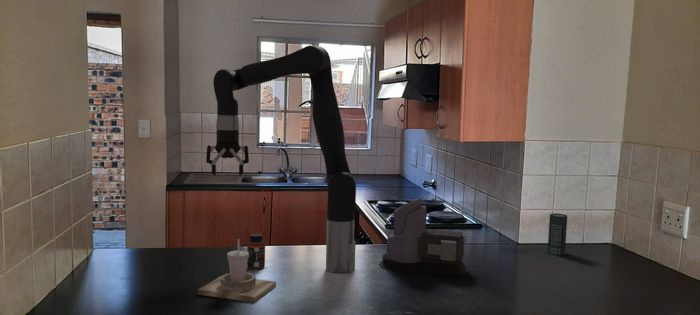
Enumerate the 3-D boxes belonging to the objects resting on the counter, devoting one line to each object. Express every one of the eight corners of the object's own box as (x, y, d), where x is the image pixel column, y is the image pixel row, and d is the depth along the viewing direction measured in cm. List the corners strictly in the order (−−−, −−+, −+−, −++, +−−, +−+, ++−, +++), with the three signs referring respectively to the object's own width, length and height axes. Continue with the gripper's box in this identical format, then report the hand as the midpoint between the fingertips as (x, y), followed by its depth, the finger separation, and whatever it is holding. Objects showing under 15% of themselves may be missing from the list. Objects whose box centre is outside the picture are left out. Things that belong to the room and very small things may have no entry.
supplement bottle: (261, 271, 175) (261, 237, 174) (244, 269, 177) (244, 236, 176) (267, 265, 181) (267, 233, 180) (251, 264, 182) (251, 232, 181)
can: (566, 252, 208) (568, 214, 206) (562, 255, 203) (565, 217, 201) (549, 249, 211) (552, 212, 210) (546, 253, 206) (548, 215, 205)
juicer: (374, 269, 180) (376, 198, 178) (384, 257, 196) (386, 191, 194) (464, 279, 172) (467, 204, 170) (467, 265, 188) (470, 197, 185)
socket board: (275, 286, 161) (276, 273, 160) (255, 302, 147) (255, 288, 147) (222, 279, 166) (222, 267, 165) (198, 294, 152) (198, 281, 152)
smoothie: (229, 290, 152) (230, 242, 151) (224, 283, 158) (224, 237, 157) (251, 287, 155) (251, 240, 154) (245, 280, 161) (245, 235, 160)
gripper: (205, 128, 177) (206, 177, 178) (249, 129, 180) (249, 176, 182) (206, 127, 184) (206, 174, 186) (248, 128, 187) (247, 174, 189)
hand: (227, 175), depth 184 cm, fingers open, 8 cm apart
